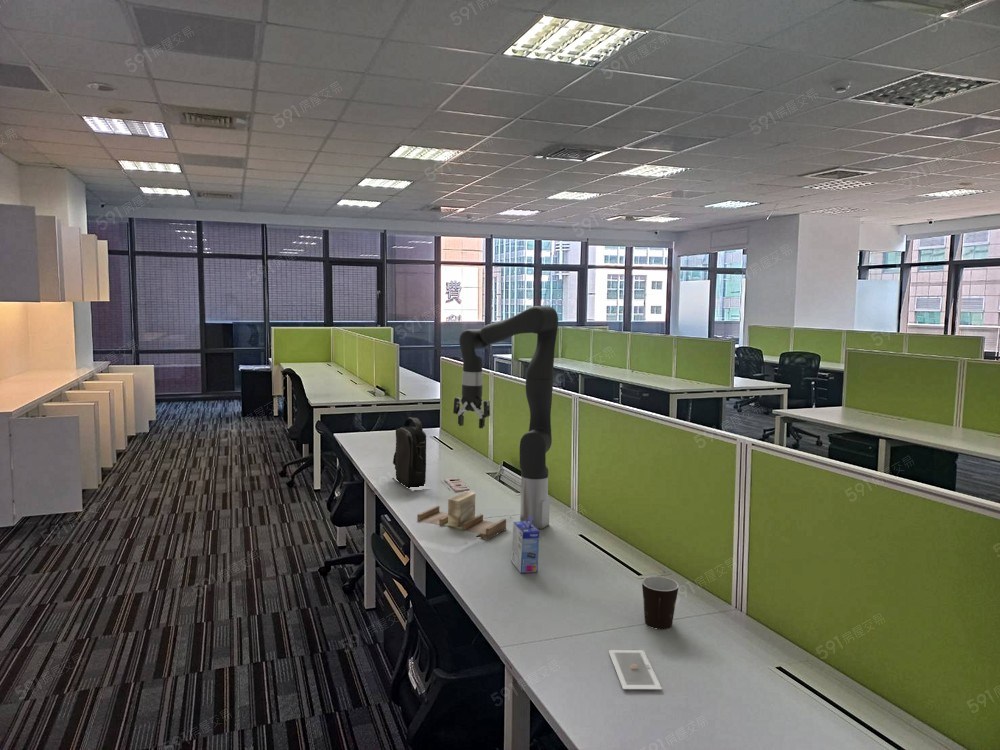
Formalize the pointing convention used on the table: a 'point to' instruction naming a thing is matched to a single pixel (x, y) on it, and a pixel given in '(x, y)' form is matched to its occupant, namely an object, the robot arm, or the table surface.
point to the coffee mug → (659, 601)
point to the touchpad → (634, 669)
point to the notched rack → (472, 525)
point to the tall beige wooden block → (461, 509)
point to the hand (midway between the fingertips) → (471, 426)
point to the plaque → (457, 483)
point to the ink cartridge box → (525, 546)
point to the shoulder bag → (410, 454)
